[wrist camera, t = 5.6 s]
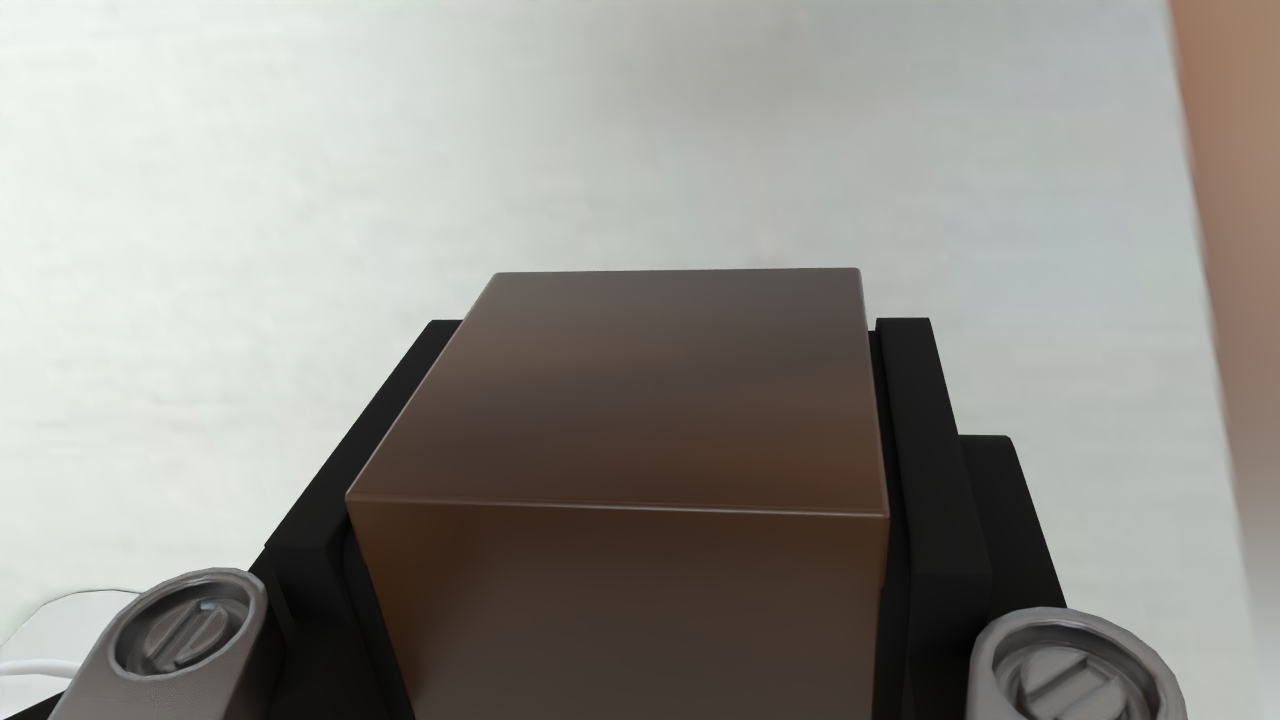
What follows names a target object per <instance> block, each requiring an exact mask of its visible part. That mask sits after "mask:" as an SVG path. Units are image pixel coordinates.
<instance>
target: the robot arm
mask: <svg viewBox="0 0 1280 720" xmlns="http://www.w3.org/2000/svg"><path fill="white" fill-rule="evenodd" d="M462 321H463V320H432V321H431V322H430V323H428V325H427V326H426V327H425V329H424V330H423V331H422V333H421V334H420V335H419V337H418V338H417V339H416V341H415V342H414V344H413V345H412V346H411V348H410V349H409V350H408V352H407V353H406V354H405V356H404V357H403V358H402V360H401V361H400V362H399V364H398V365H397V366H396V368H395V369H394V371H393V372H392V373H391V375H390V376H389V377H388V379H387V380H386V381H385V383H384V384H383V385H382V387H381V388H380V389H379V391H378V392H377V393H376V395H375V396H374V397H373V399H372V400H371V402H370V403H369V404H368V406H367V407H366V408H365V410H364V411H363V412H362V414H361V415H360V416H359V418H358V419H357V420H356V422H355V423H354V424H353V426H352V427H351V429H350V430H349V431H348V433H347V434H346V435H345V437H344V438H343V439H342V441H341V442H340V443H339V445H338V446H337V447H336V449H335V450H334V451H333V453H332V454H331V455H330V457H329V458H328V460H327V461H326V462H325V464H324V465H323V466H322V468H321V469H320V470H319V472H318V473H317V474H316V476H315V477H314V478H313V480H312V481H311V482H310V484H309V485H308V486H307V488H306V489H305V491H304V492H303V493H302V495H301V496H300V497H299V499H298V500H297V501H296V503H295V504H294V505H293V507H292V508H291V509H290V511H289V512H288V513H287V515H286V516H285V518H284V519H283V520H282V522H281V523H280V524H279V526H278V527H277V528H276V530H275V531H274V532H273V534H272V535H271V536H270V538H269V539H268V540H267V542H266V543H265V544H264V546H265V548H264V550H263V551H262V552H261V554H260V555H259V557H258V558H257V559H256V561H255V562H254V563H253V565H252V566H251V567H250V569H249V570H248V571H247V572H246V571H243V570H240V569H237V568H208V569H203V570H198V571H193V572H188V573H185V574H183V575H180V576H177V577H175V578H172V579H169V580H167V581H164V582H162V583H160V584H158V585H157V586H155V587H153V588H151V589H150V590H148V591H146V592H144V593H143V594H141V595H139V596H138V597H137V598H135V599H134V600H133V601H132V602H130V603H129V604H128V605H127V606H125V607H124V608H123V609H122V610H121V611H119V612H118V613H117V614H116V616H115V617H114V618H113V619H112V620H111V622H110V623H109V624H108V625H107V627H106V628H105V629H104V630H103V631H102V633H101V635H100V636H99V638H98V639H97V641H96V643H95V644H94V646H93V647H92V649H91V651H90V652H89V654H88V655H87V657H86V659H85V660H84V662H83V663H82V665H81V666H80V668H79V670H78V671H77V673H76V674H75V676H74V678H73V679H72V681H71V682H70V684H69V686H68V687H67V689H66V690H64V691H62V692H60V693H58V694H56V695H54V696H52V697H50V698H48V699H46V700H43V701H41V702H39V703H37V704H35V705H33V706H31V707H29V708H27V709H25V710H23V711H20V712H18V713H16V714H14V715H12V716H10V717H8V718H6V719H4V720H415V718H414V715H413V712H412V709H411V706H410V702H409V699H408V696H407V693H406V690H405V686H404V683H403V680H402V677H401V674H400V670H399V667H398V664H397V661H396V658H395V655H394V651H393V648H392V645H391V642H390V639H389V635H388V632H387V629H386V626H385V623H384V619H383V616H382V613H381V610H380V607H379V604H378V600H377V597H376V594H375V591H374V588H373V584H372V581H371V578H370V575H369V572H368V568H367V565H366V564H365V563H364V561H363V558H362V555H361V552H360V548H359V545H358V542H357V539H356V536H355V532H354V529H353V526H352V523H351V520H350V517H349V513H348V510H347V507H346V504H345V495H346V492H347V491H348V489H349V488H350V486H351V485H352V483H353V482H354V480H355V479H356V478H357V476H358V475H359V473H360V472H361V470H362V469H363V467H364V466H365V464H366V463H367V461H368V460H369V458H370V457H371V455H372V454H373V452H374V451H375V449H376V448H377V447H378V445H379V444H380V442H381V441H382V439H383V438H384V436H385V435H386V433H387V432H388V430H389V429H390V427H391V426H392V424H393V423H394V421H395V420H396V419H397V417H398V416H399V414H400V413H401V411H402V410H403V408H404V407H405V405H406V404H407V402H408V401H409V399H410V398H411V396H412V395H413V393H414V392H415V390H416V389H417V388H418V386H419V385H420V383H421V382H422V380H423V379H424V377H425V376H426V374H427V373H428V371H429V370H430V368H431V367H432V365H433V364H434V362H435V361H436V359H437V358H438V357H439V355H440V354H441V352H442V351H443V349H444V348H445V346H446V345H447V343H448V342H449V340H450V339H451V337H452V336H453V334H454V333H455V331H456V330H457V329H458V327H459V326H460V324H461V323H462ZM868 334H869V343H870V351H871V359H872V367H873V375H874V383H875V391H876V399H877V407H878V416H879V424H880V432H881V440H882V448H883V456H884V464H885V472H886V480H887V488H888V497H889V505H890V513H891V520H890V536H889V551H888V566H887V577H886V580H885V585H884V587H883V588H882V589H881V599H880V615H879V632H878V648H877V664H876V680H875V696H874V712H873V720H1188V718H1187V713H1186V707H1185V701H1184V698H1183V695H1182V693H1181V690H1180V688H1179V685H1178V682H1177V680H1176V677H1175V675H1174V674H1173V672H1172V671H1171V670H1170V669H1169V667H1168V666H1167V665H1166V664H1165V662H1164V661H1163V660H1162V659H1161V657H1160V656H1159V655H1158V654H1157V652H1156V651H1154V650H1153V649H1152V648H1151V647H1149V646H1148V645H1147V644H1145V643H1144V642H1143V641H1142V640H1140V639H1139V638H1138V637H1136V636H1135V635H1134V634H1132V633H1131V632H1130V631H1128V630H1126V629H1123V628H1121V627H1119V626H1117V625H1115V624H1113V623H1111V622H1109V621H1107V620H1105V619H1103V618H1101V617H1098V616H1094V615H1091V614H1087V613H1083V612H1080V611H1076V610H1073V609H1068V608H1067V605H1066V602H1065V599H1064V596H1063V593H1062V590H1061V587H1060V584H1059V581H1058V578H1057V575H1056V572H1055V569H1054V566H1053V563H1052V560H1051V556H1050V553H1049V550H1048V547H1047V544H1046V541H1045V538H1044V535H1043V532H1042V529H1041V526H1040V523H1039V520H1038V517H1037V514H1036V511H1035V508H1034V505H1033V502H1032V499H1031V496H1030V493H1029V490H1028V487H1027V484H1026V481H1025V478H1024V475H1023V472H1022V469H1021V466H1020V463H1019V460H1018V457H1017V454H1016V451H1015V448H1014V445H1013V443H1012V441H1011V439H1010V438H1009V437H1007V436H1006V435H958V431H957V427H956V423H955V419H954V415H953V411H952V407H951V403H950V399H949V395H948V391H947V387H946V383H945V379H944V375H943V371H942V367H941V362H940V358H939V354H938V350H937V346H936V342H935V338H934V334H933V330H932V326H931V322H930V319H929V318H877V320H876V327H875V331H868Z"/></svg>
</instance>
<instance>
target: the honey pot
mask: <svg viewBox="0 0 1280 720" xmlns="http://www.w3.org/2000/svg"><path fill="white" fill-rule="evenodd" d="M139 595H141V594H136V593H129V592H121V591H114V590H109V591H96V592H83V593H73V594H71V595H68V596H65V597H63V598H60V599H57V600H55V601H52V602H49V603H47V604H44V605H43V606H42V607H41V608H40V609H39V610H38V611H37V612H36V613H34V614H33V615H32V616H31V617H30V618H29V619H28V620H27V621H26V622H25V623H24V624H23V625H22V626H21V627H20V628H19V629H18V630H17V631H16V632H15V633H14V634H13V635H12V636H11V637H10V638H9V639H8V640H7V641H6V642H5V643H4V644H3V646H2V647H1V648H0V720H4V719H6V718H8V717H10V716H12V715H14V714H16V713H18V712H20V711H23V710H25V709H27V708H29V707H31V706H33V705H35V704H37V703H39V702H41V701H43V700H46V699H48V698H50V697H52V696H54V695H56V694H58V693H60V692H62V691H64V690H66V689H67V687H68V686H69V684H70V682H71V681H72V679H73V678H74V676H75V674H76V673H77V671H78V670H79V668H80V666H81V665H82V663H83V662H84V660H85V659H86V657H87V655H88V654H89V652H90V651H91V649H92V647H93V646H94V644H95V643H96V641H97V639H98V638H99V636H100V635H101V633H102V631H103V630H104V629H105V628H106V627H107V625H108V624H109V623H110V622H111V620H112V619H113V618H114V617H115V616H116V614H117V613H118V612H119V611H121V610H122V609H123V608H124V607H125V606H127V605H128V604H129V603H130V602H132V601H133V600H134V599H135V598H137V597H138V596H139Z"/></svg>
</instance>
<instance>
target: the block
mask: <svg viewBox="0 0 1280 720" xmlns="http://www.w3.org/2000/svg"><path fill="white" fill-rule="evenodd" d="M345 504H346V507H347V510H348V513H349V517H350V520H351V523H352V526H353V529H354V532H355V536H356V539H357V542H358V545H359V548H360V552H361V555H362V558H363V561H364V563H365V564H366V565H367V568H368V572H369V575H370V578H371V581H372V584H373V588H374V591H375V594H376V597H377V600H378V604H379V607H380V610H381V613H382V616H383V619H384V623H385V626H386V629H387V632H388V635H389V639H390V642H391V645H392V648H393V651H394V655H395V658H396V661H397V664H398V667H399V670H400V674H401V677H402V680H403V683H404V686H405V690H406V693H407V696H408V699H409V702H410V706H411V709H412V712H413V715H414V718H415V720H873V712H874V696H875V680H876V664H877V648H878V632H879V615H880V599H881V589H882V588H883V587H884V585H885V580H886V577H887V566H888V551H889V536H890V520H891V513H890V505H889V497H888V488H887V480H886V472H885V464H884V456H883V448H882V440H881V432H880V424H879V416H878V407H877V399H876V391H875V383H874V375H873V367H872V359H871V351H870V343H869V334H868V326H867V318H866V310H865V302H864V294H863V286H862V278H861V272H860V270H859V269H858V268H791V269H720V270H648V271H577V272H506V273H496V274H494V275H493V277H492V278H491V280H490V281H489V283H488V284H487V286H486V287H485V289H484V290H483V292H482V293H481V295H480V296H479V298H478V299H477V300H476V302H475V303H474V305H473V306H472V308H471V309H470V311H469V312H468V314H467V315H466V317H465V318H464V320H463V321H462V323H461V324H460V326H459V327H458V329H457V330H456V331H455V333H454V334H453V336H452V337H451V339H450V340H449V342H448V343H447V345H446V346H445V348H444V349H443V351H442V352H441V354H440V355H439V357H438V358H437V359H436V361H435V362H434V364H433V365H432V367H431V368H430V370H429V371H428V373H427V374H426V376H425V377H424V379H423V380H422V382H421V383H420V385H419V386H418V388H417V389H416V390H415V392H414V393H413V395H412V396H411V398H410V399H409V401H408V402H407V404H406V405H405V407H404V408H403V410H402V411H401V413H400V414H399V416H398V417H397V419H396V420H395V421H394V423H393V424H392V426H391V427H390V429H389V430H388V432H387V433H386V435H385V436H384V438H383V439H382V441H381V442H380V444H379V445H378V447H377V448H376V449H375V451H374V452H373V454H372V455H371V457H370V458H369V460H368V461H367V463H366V464H365V466H364V467H363V469H362V470H361V472H360V473H359V475H358V476H357V478H356V479H355V480H354V482H353V483H352V485H351V486H350V488H349V489H348V491H347V492H346V495H345Z"/></svg>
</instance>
